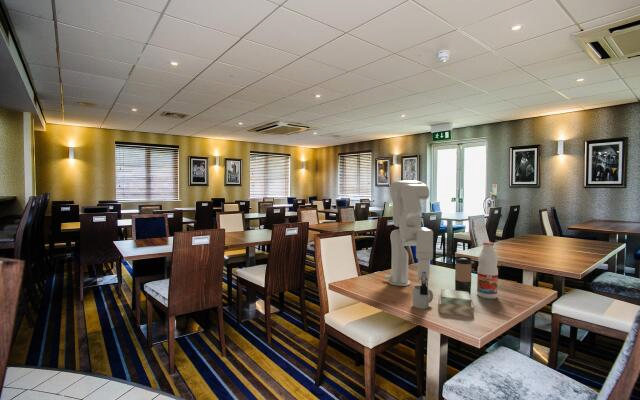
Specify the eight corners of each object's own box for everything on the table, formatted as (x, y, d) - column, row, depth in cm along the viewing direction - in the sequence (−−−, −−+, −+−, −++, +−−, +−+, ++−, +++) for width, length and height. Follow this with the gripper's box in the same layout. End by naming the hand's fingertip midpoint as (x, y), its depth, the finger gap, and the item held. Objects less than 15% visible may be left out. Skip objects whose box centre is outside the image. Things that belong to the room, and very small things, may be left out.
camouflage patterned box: (439, 312, 146) (439, 297, 146) (438, 302, 159) (438, 288, 159) (473, 316, 141) (474, 300, 141) (470, 305, 155) (470, 291, 154)
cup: (409, 304, 156) (410, 286, 156) (427, 302, 159) (428, 284, 158) (418, 309, 149) (418, 290, 149) (437, 307, 152) (437, 288, 151)
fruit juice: (496, 294, 172) (497, 241, 171) (498, 300, 163) (499, 244, 162) (476, 292, 176) (477, 240, 175) (477, 297, 167) (478, 243, 166)
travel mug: (470, 295, 171) (470, 257, 170) (471, 299, 164) (472, 260, 163) (454, 293, 173) (455, 255, 173) (455, 297, 166) (456, 258, 165)
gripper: (416, 252, 162) (416, 286, 162) (415, 258, 146) (414, 296, 146) (432, 253, 160) (432, 287, 160) (433, 259, 143) (432, 298, 144)
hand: (424, 291), depth 153 cm, fingers open, 9 cm apart
